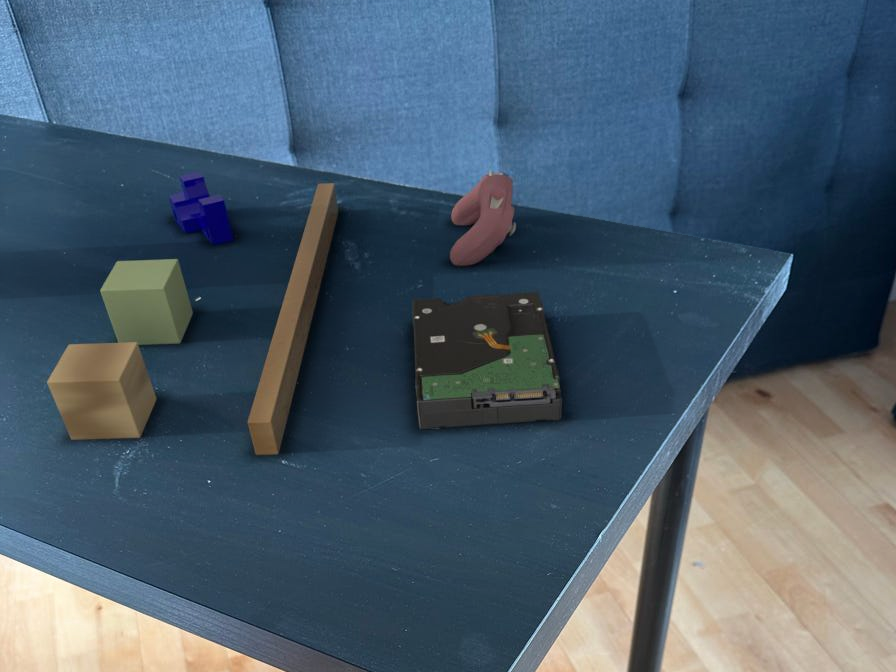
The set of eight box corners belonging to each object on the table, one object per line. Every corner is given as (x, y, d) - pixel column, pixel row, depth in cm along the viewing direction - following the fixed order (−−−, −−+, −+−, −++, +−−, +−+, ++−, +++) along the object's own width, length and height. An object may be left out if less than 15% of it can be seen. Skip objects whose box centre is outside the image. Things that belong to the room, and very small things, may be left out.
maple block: (72, 443, 67) (46, 382, 63) (92, 404, 70) (68, 343, 67) (141, 441, 67) (119, 379, 63) (158, 402, 70) (137, 341, 66)
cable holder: (175, 221, 92) (163, 179, 89) (209, 213, 93) (199, 171, 90) (198, 252, 87) (186, 209, 84) (234, 243, 88) (224, 200, 85)
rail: (256, 458, 65) (247, 422, 63) (322, 215, 92) (317, 183, 90) (279, 458, 65) (270, 421, 63) (339, 214, 92) (334, 182, 90)
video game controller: (492, 285, 84) (527, 213, 79) (445, 265, 82) (478, 190, 78) (491, 237, 91) (523, 168, 86) (447, 218, 89) (478, 146, 85)
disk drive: (412, 332, 76) (419, 435, 66) (409, 299, 74) (416, 400, 64) (538, 322, 76) (565, 423, 66) (539, 289, 74) (566, 388, 64)
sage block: (120, 349, 76) (99, 290, 72) (135, 318, 79) (116, 260, 75) (181, 347, 76) (163, 288, 72) (194, 316, 79) (178, 258, 75)
